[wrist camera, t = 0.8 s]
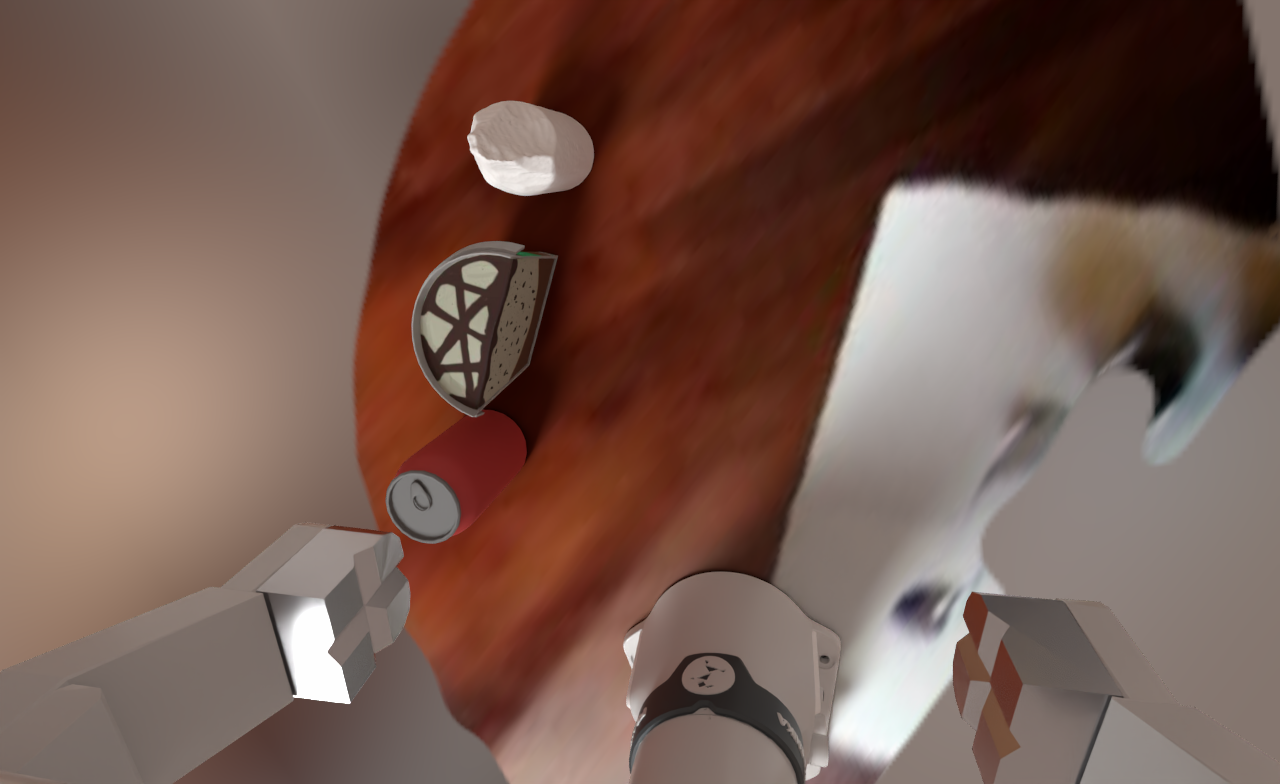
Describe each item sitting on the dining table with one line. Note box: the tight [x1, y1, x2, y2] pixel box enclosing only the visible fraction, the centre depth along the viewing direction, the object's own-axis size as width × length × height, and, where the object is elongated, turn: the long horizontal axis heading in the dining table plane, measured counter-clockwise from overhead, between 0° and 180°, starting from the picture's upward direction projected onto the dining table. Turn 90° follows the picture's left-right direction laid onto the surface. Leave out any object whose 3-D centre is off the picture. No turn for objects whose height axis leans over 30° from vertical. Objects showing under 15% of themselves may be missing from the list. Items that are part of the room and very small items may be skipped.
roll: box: [467, 101, 594, 196], centre depth 41 cm, size 6×12×6 cm
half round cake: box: [412, 241, 558, 417], centre depth 46 cm, size 12×6×10 cm, turn 162°
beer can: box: [386, 410, 527, 544], centre depth 50 cm, size 7×7×12 cm
